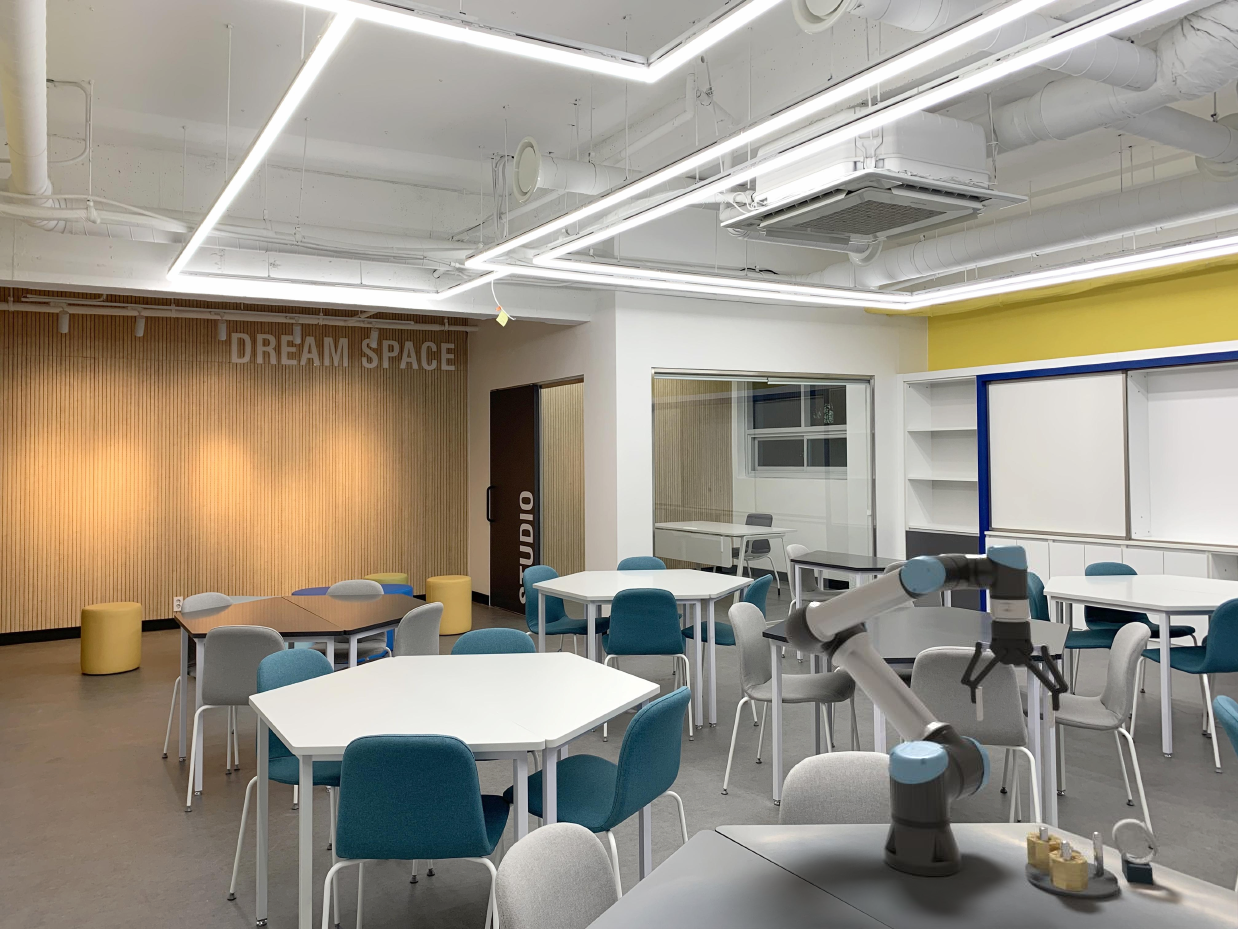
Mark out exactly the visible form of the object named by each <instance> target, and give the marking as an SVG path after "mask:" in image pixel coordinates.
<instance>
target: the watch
mask: <svg viewBox="0 0 1238 929" xmlns="http://www.w3.org/2000/svg"><path fill="white" fill-rule="evenodd" d="M1129 824H1130V825H1137V827H1138V829H1139V830H1140V832H1141V834H1142V835H1143V836H1144V838H1145V840H1146V841H1147V843H1148V844H1149V845H1150V847H1151V848H1152V851H1151V853H1150V854H1148V855H1147V856H1144V857H1142V856H1141V857H1140V856H1133V855H1131V856H1130V855H1127V852H1126V851H1124V849H1123V848H1122V847H1121V845H1120V842H1119V840H1118V836H1117V833H1118V830H1120V829H1121V827H1124V826H1126V825H1129ZM1111 835H1112V836H1111V840H1112V841H1113V844H1114V845H1115V847H1116V849H1117V851H1118V853H1119V854H1120V856H1121V857H1120V858H1121V872H1122V874H1123V875H1124V878H1125V879H1126V880H1125V881H1127V883H1132V884H1139V885H1149V886H1153V885H1154V874H1153V873H1154V872H1153V867H1152V866H1151V864H1150V863H1152V862H1153V861H1154V860H1155V859H1157V856H1158V855H1159V848H1161V846H1160V843H1159V841H1158V840H1157V838H1156V837H1155V836H1154V834H1153V833H1152V831H1151V830H1150V828H1149V827H1148V825H1147V823H1146V822H1144V821H1142V822H1141V821H1140V820H1138V819H1135V818H1124V819H1121V820H1119V821H1117V822H1116V823H1115V824H1114V826H1113V828H1112V831H1111Z"/></svg>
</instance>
